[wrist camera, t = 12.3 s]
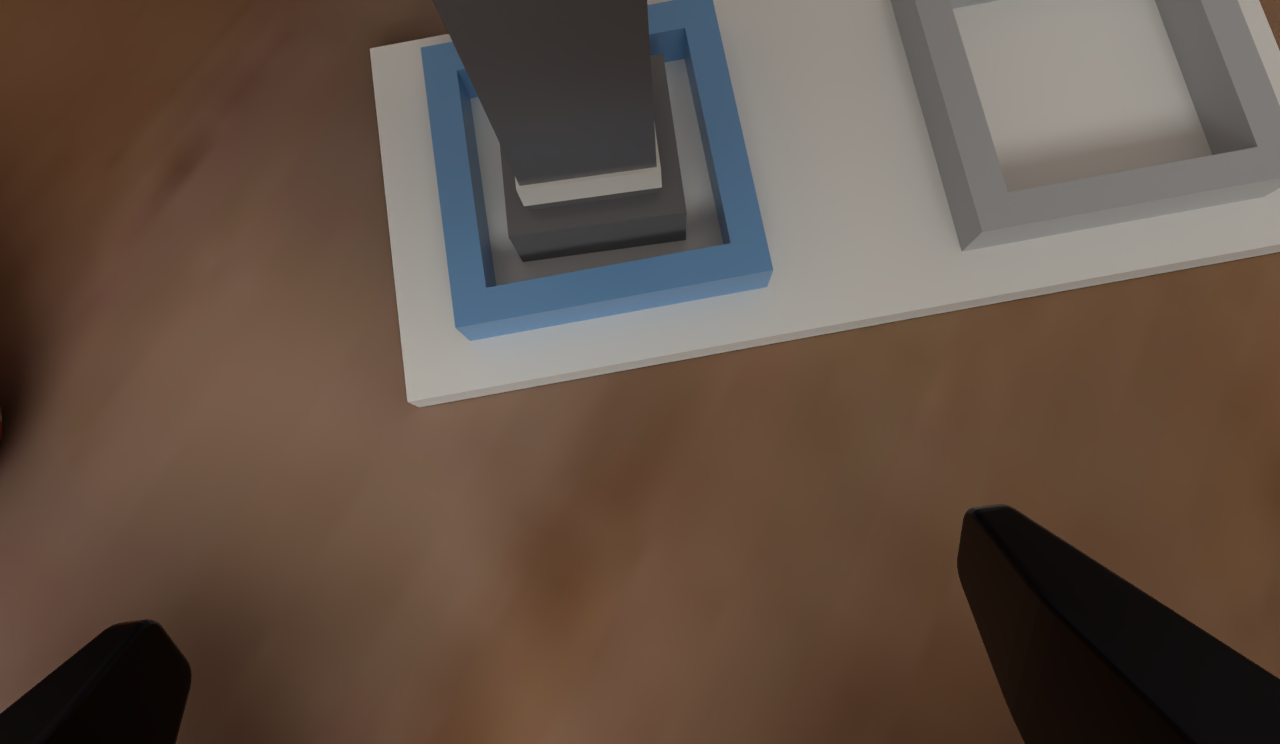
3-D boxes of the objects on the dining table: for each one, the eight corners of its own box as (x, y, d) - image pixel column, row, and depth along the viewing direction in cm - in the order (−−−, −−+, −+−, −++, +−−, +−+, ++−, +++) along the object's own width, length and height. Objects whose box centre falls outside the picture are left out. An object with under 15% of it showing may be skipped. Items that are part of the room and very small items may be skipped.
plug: (685, 239, 22) (696, -141, 10) (522, 262, 22) (319, -86, 10) (664, 93, 23) (648, -426, 11) (509, 115, 23) (308, -372, 11)
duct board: (1193, -85, 25) (1249, -152, 22) (1323, 244, 22) (1402, 209, 20) (381, 66, 25) (349, 17, 23) (419, 407, 23) (388, 393, 20)
